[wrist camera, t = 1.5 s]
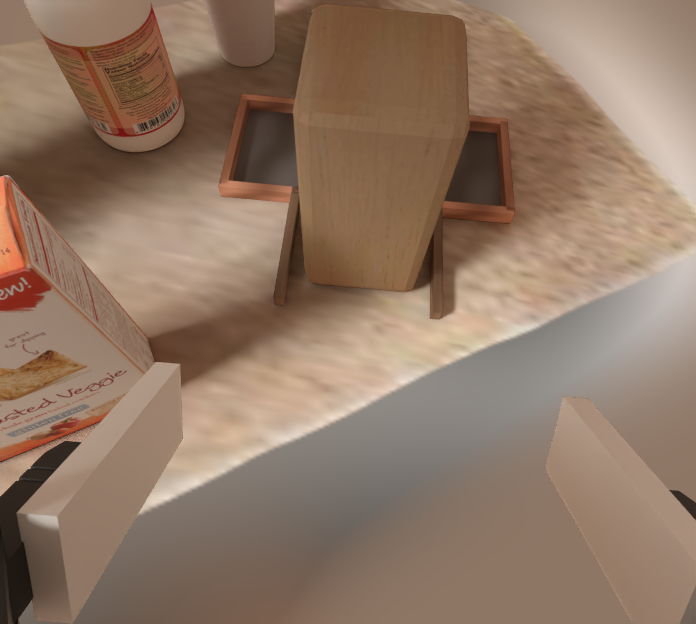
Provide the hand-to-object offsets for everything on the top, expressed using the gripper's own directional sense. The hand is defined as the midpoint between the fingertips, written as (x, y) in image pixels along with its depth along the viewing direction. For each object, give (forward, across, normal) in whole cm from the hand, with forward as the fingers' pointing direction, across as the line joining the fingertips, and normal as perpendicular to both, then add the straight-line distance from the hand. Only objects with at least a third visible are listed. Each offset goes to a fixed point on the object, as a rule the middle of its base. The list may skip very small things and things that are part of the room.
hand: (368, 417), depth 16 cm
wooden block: (+32, 0, -1) cm, 32 cm away
